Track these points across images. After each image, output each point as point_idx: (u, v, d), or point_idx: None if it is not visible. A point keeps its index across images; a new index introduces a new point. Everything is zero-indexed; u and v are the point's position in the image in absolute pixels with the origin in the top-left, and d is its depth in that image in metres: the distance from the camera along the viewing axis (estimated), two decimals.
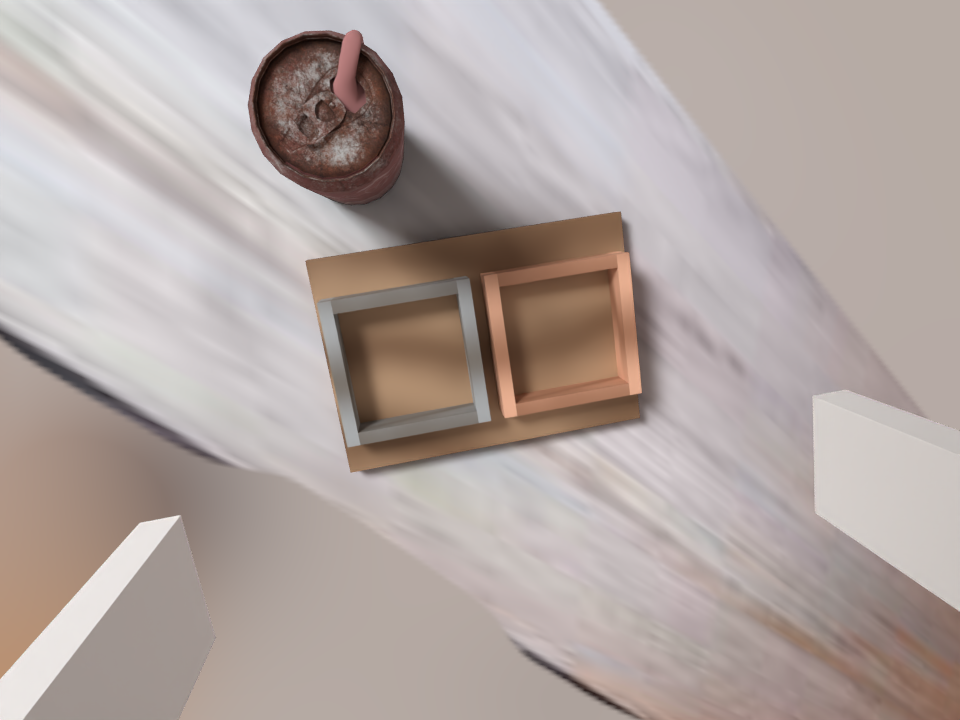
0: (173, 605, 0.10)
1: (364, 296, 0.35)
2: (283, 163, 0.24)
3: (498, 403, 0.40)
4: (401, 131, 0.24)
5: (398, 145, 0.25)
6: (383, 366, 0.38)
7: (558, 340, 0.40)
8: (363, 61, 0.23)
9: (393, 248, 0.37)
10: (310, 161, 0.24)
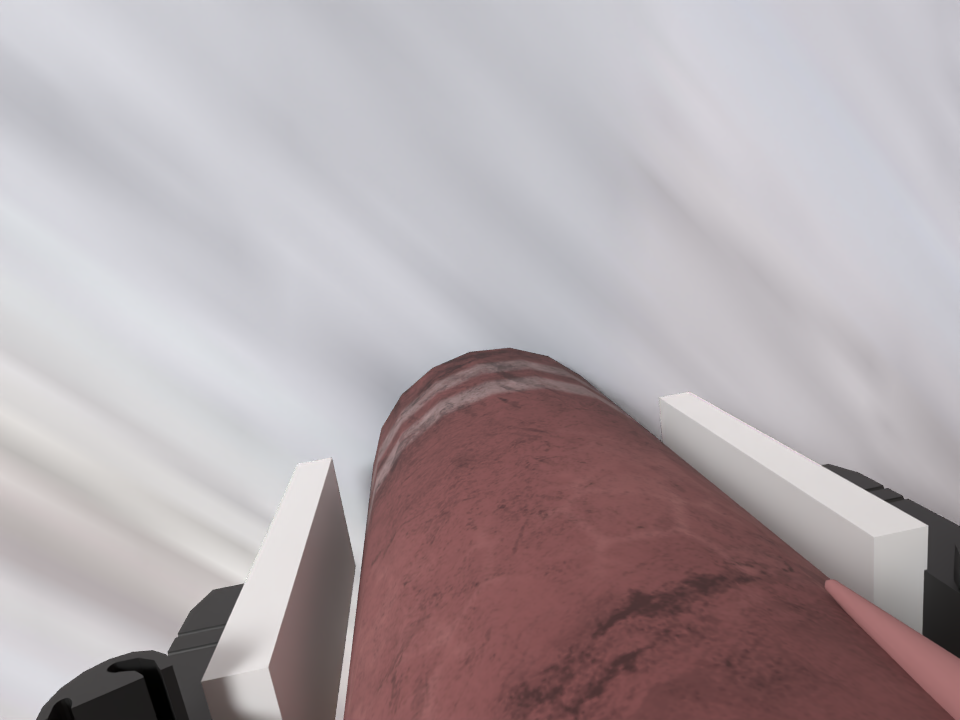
0: (336, 530, 0.12)
1: None
2: None
3: None
4: None
5: None
6: None
7: None
8: None
9: None
10: None
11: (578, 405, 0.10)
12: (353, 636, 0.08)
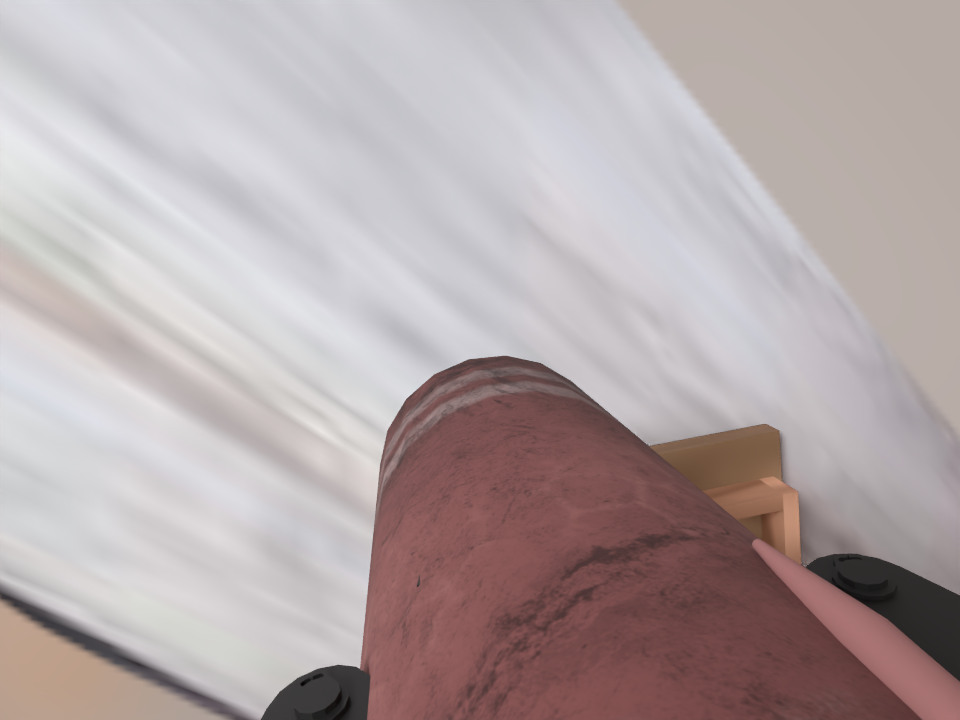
0: None
1: None
2: None
3: None
4: None
5: None
6: None
7: None
8: None
9: None
10: None
11: (564, 405, 0.11)
12: (366, 607, 0.09)
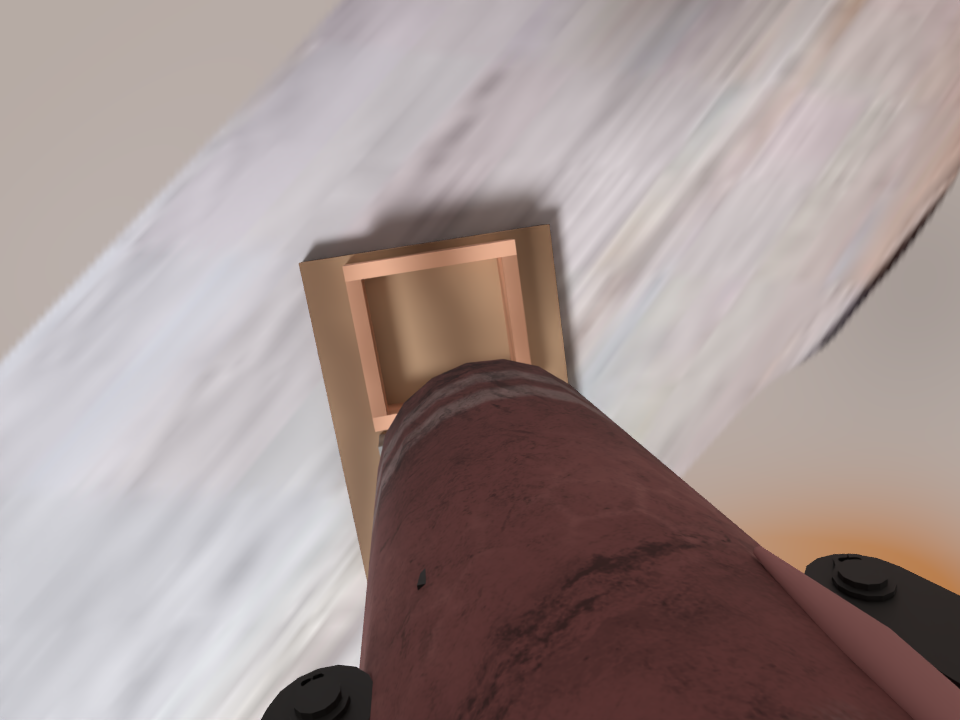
0: None
1: None
2: None
3: None
4: None
5: None
6: None
7: (451, 330, 0.34)
8: None
9: (352, 507, 0.36)
10: None
11: (563, 410, 0.11)
12: (364, 614, 0.09)
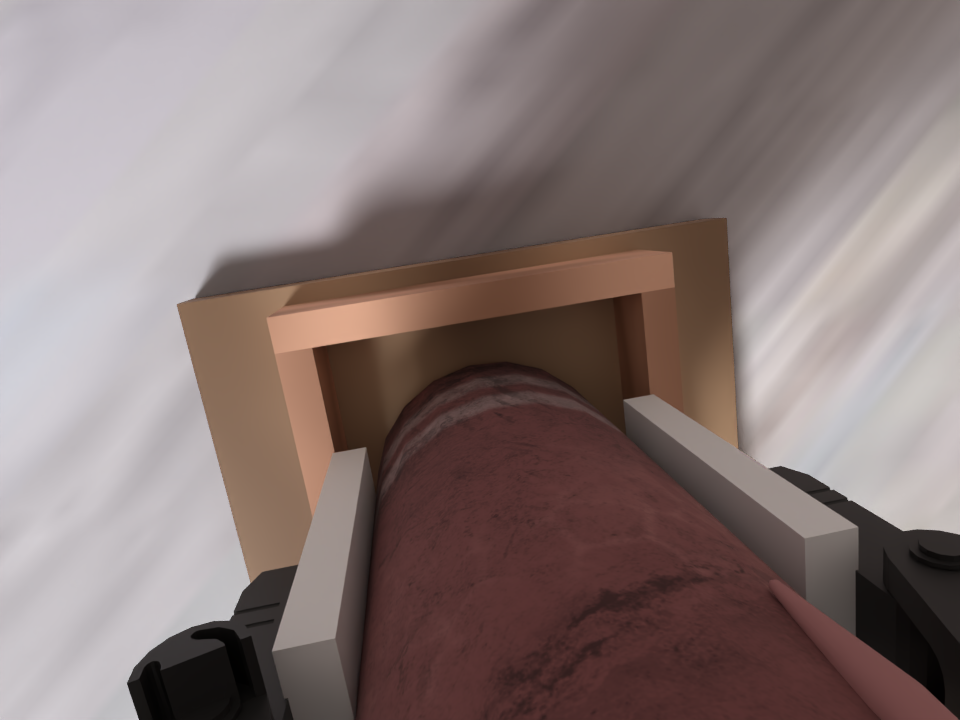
0: (373, 517, 0.13)
1: None
2: None
3: None
4: None
5: None
6: None
7: None
8: None
9: None
10: None
11: (567, 419, 0.11)
12: (363, 632, 0.09)
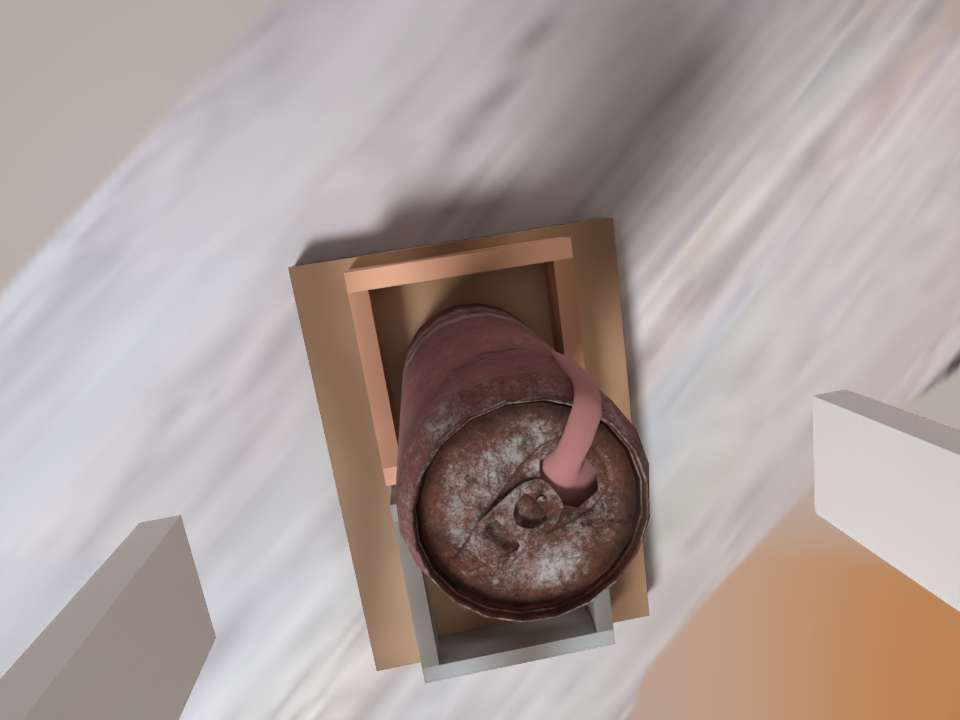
0: (173, 605, 0.10)
1: (416, 631, 0.27)
2: (456, 594, 0.14)
3: None
4: None
5: None
6: None
7: None
8: (598, 430, 0.13)
9: (357, 575, 0.28)
10: (499, 584, 0.14)
11: (502, 321, 0.21)
12: (400, 412, 0.20)
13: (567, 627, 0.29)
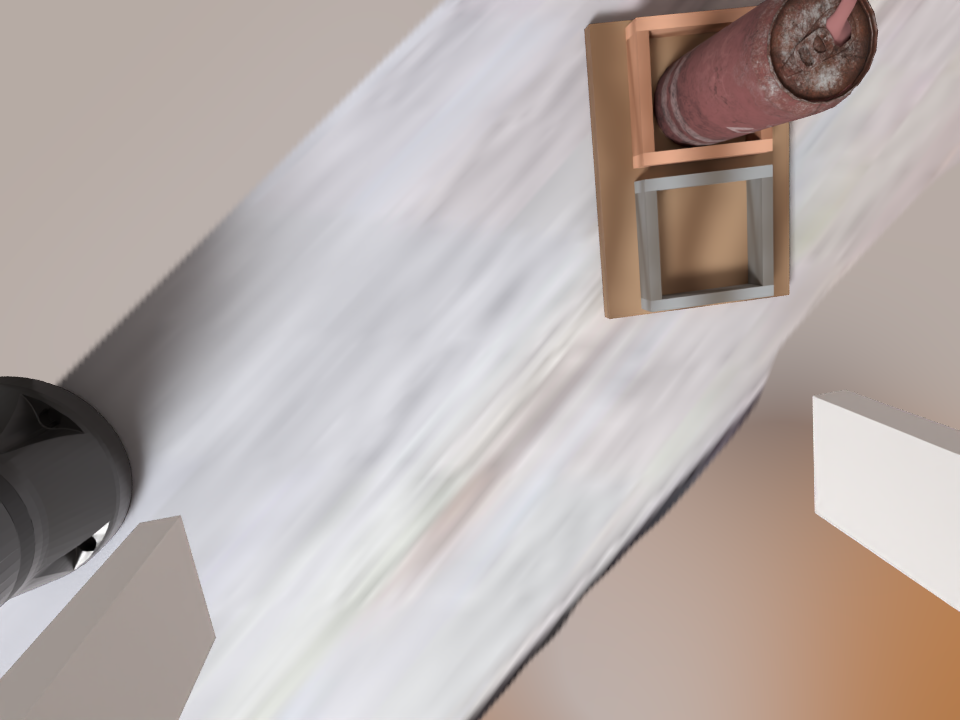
0: (173, 605, 0.10)
1: (650, 272, 0.42)
2: (781, 86, 0.29)
3: (751, 155, 0.43)
4: None
5: None
6: (703, 260, 0.44)
7: None
8: (855, 4, 0.28)
9: (605, 245, 0.43)
10: (799, 86, 0.29)
11: None
12: (695, 70, 0.35)
13: (741, 287, 0.44)
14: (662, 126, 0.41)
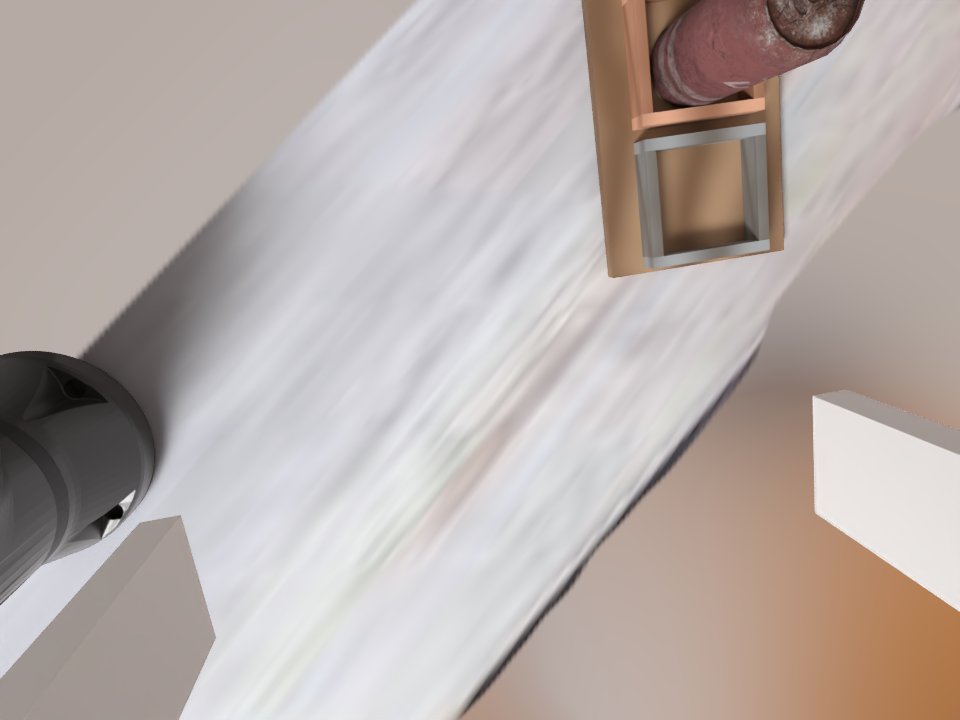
0: (173, 605, 0.10)
1: (652, 230, 0.44)
2: (777, 35, 0.30)
3: (744, 115, 0.45)
4: None
5: None
6: (701, 218, 0.46)
7: None
8: None
9: (608, 206, 0.45)
10: (794, 35, 0.31)
11: None
12: (692, 28, 0.36)
13: (738, 243, 0.45)
14: (659, 88, 0.42)
